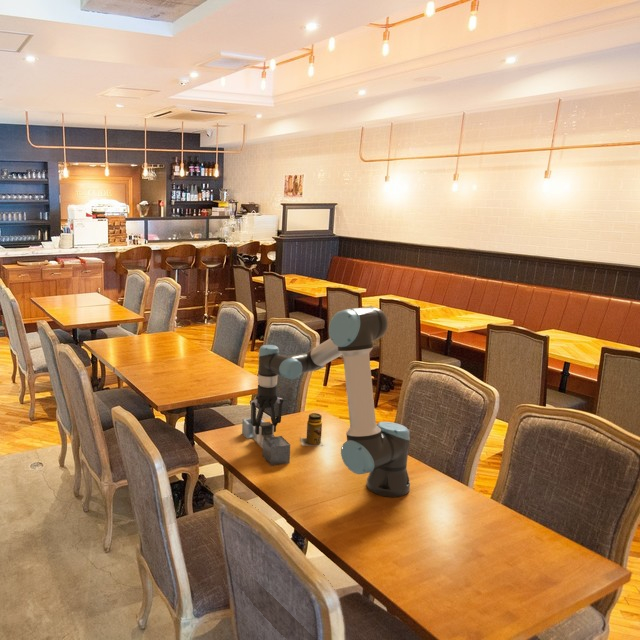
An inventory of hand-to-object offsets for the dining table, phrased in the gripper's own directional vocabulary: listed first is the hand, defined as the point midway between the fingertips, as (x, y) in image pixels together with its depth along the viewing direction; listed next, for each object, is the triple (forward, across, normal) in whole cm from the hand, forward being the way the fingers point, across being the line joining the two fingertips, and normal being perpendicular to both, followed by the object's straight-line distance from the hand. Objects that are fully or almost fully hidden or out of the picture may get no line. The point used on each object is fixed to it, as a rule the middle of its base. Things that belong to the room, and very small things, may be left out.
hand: (265, 440), depth 236 cm
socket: (+3, 0, -13) cm, 14 cm away
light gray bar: (+2, 0, +3) cm, 3 cm away
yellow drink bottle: (+3, -20, +1) cm, 20 cm away
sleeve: (+3, 0, +11) cm, 12 cm away
